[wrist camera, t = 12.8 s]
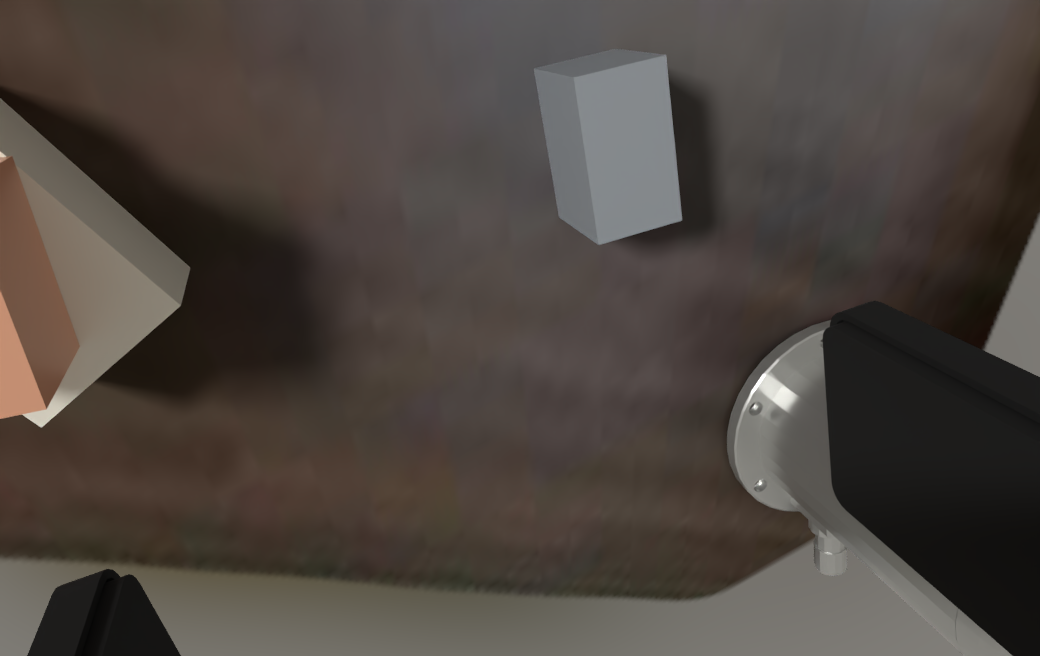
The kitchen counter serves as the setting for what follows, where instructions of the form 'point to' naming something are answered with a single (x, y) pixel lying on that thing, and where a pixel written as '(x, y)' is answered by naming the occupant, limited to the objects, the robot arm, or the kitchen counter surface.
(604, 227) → the slate brick
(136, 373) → the kitchen counter surface
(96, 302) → the cream brick
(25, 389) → the terracotta brick
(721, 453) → the kitchen counter surface
